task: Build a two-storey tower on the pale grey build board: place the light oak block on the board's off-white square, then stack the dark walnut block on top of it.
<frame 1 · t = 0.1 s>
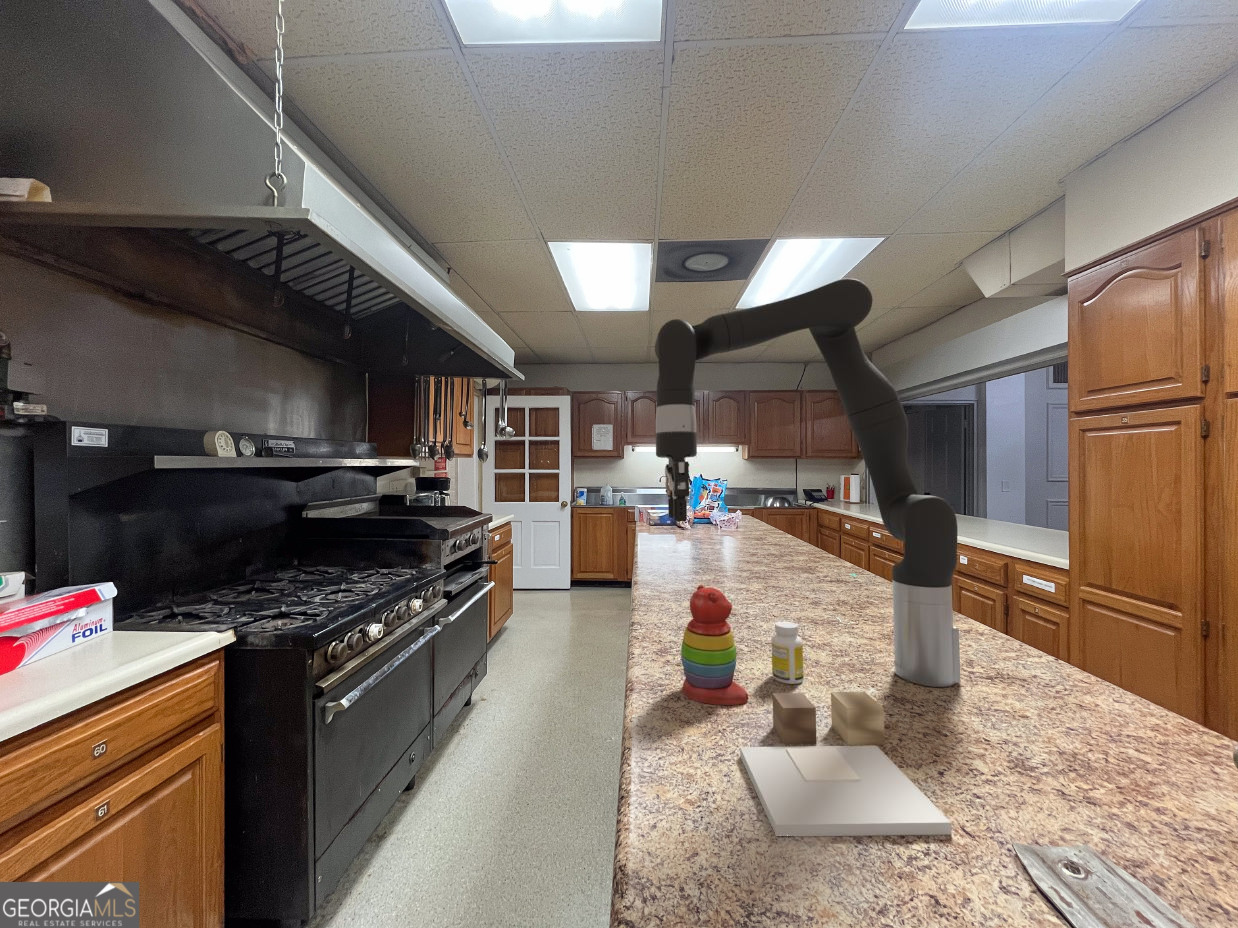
hand: (677, 519, 87), 29 cm above the countertop, tool pointing down, fingers open, 8 cm apart
oak block: (857, 735, 67), on the countertop
stacking bear: (711, 692, 81), on the countertop
build board: (832, 790, 55), on the countertop
supplement bottle: (787, 679, 86), on the countertop
walnut block: (794, 735, 67), on the countertop
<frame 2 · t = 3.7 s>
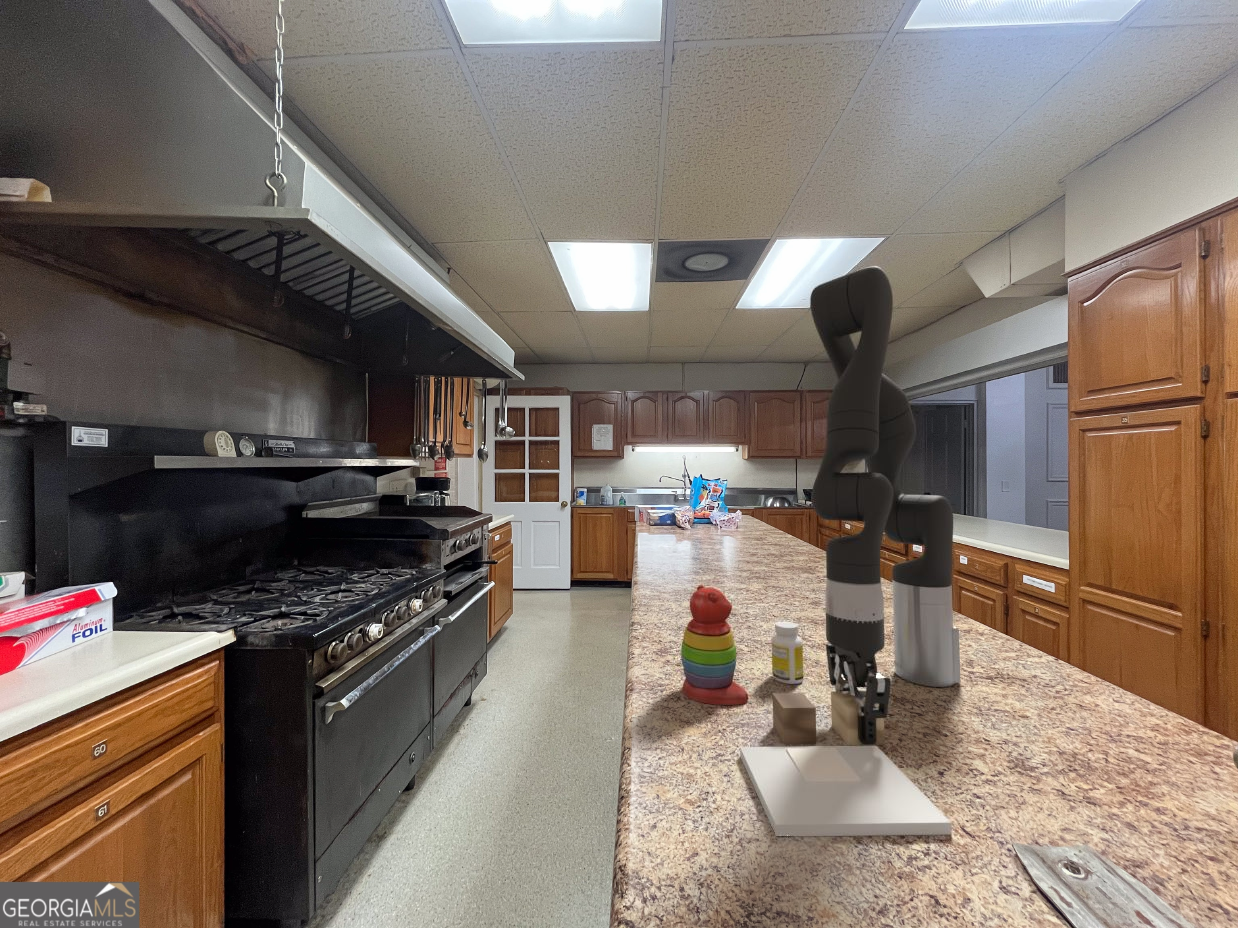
hand: (856, 730, 67), 0 cm above the countertop, tool pointing down, fingers closed on oak block, 5 cm apart
oak block: (857, 734, 67), on the countertop, touching gripper
everything else where it was.
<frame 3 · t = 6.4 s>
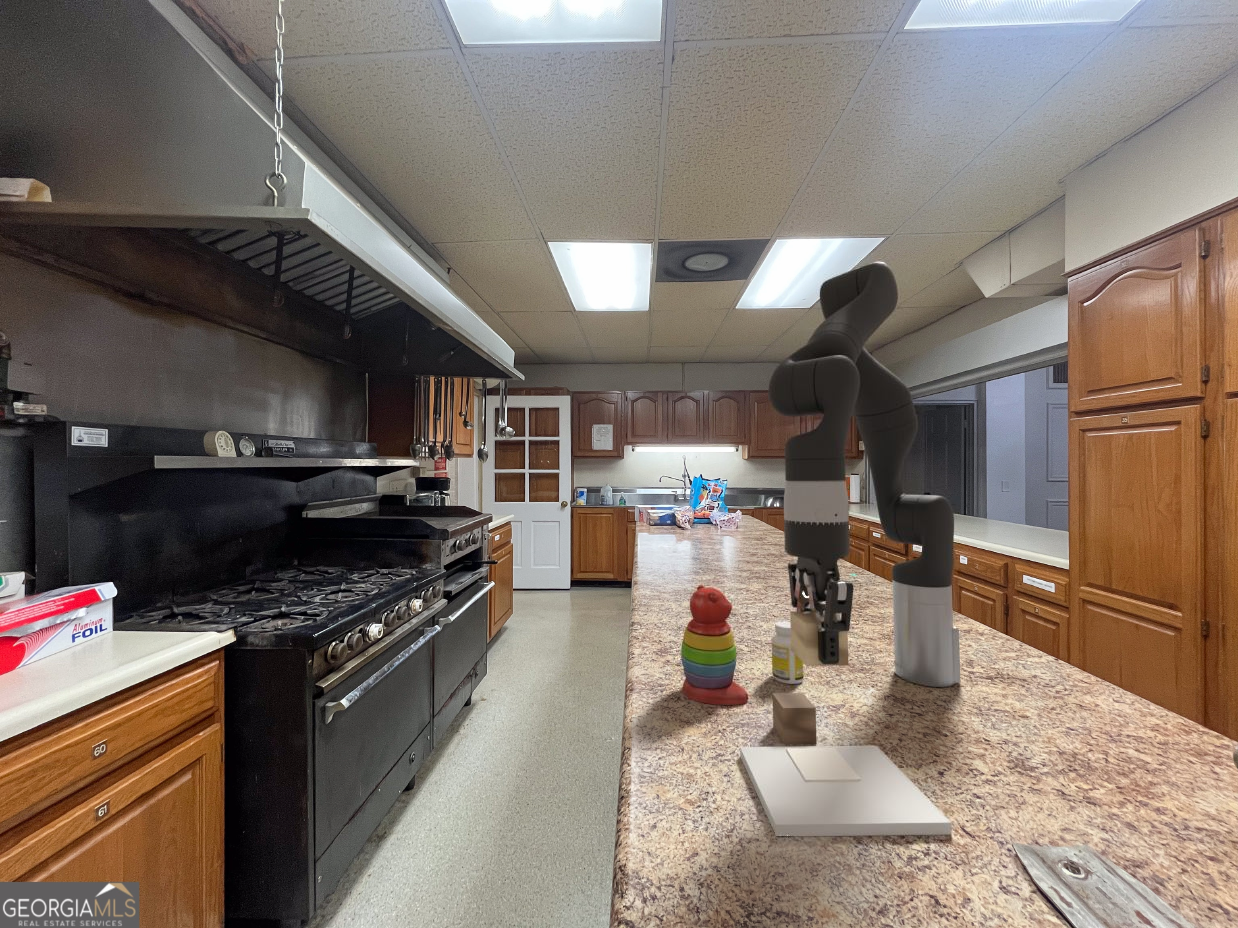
hand: (818, 653, 59), 15 cm above the countertop, tool pointing down, fingers closed on oak block, 5 cm apart
oak block: (818, 657, 59), point 14 cm above the countertop, touching gripper
everything else where it was.
when the fingers open (3 cm above the countertop, at t = 8.9 s): oak block stays where it is, resting on build board.
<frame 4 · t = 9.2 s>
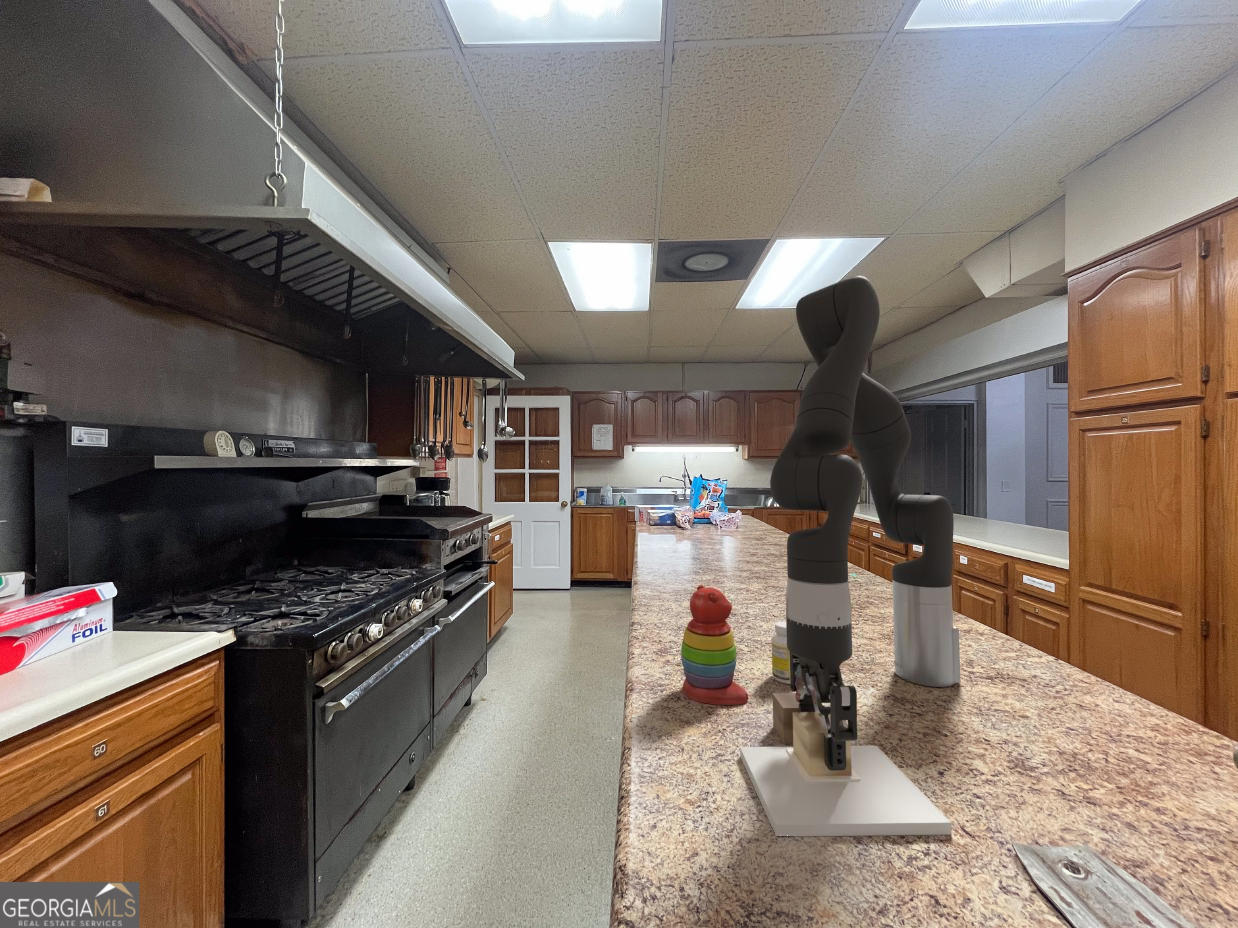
hand: (821, 749, 58), 3 cm above the countertop, tool pointing down, fingers open, 7 cm apart
oak block: (821, 763, 58), point 1 cm above the countertop, touching build board
everything else where it was.
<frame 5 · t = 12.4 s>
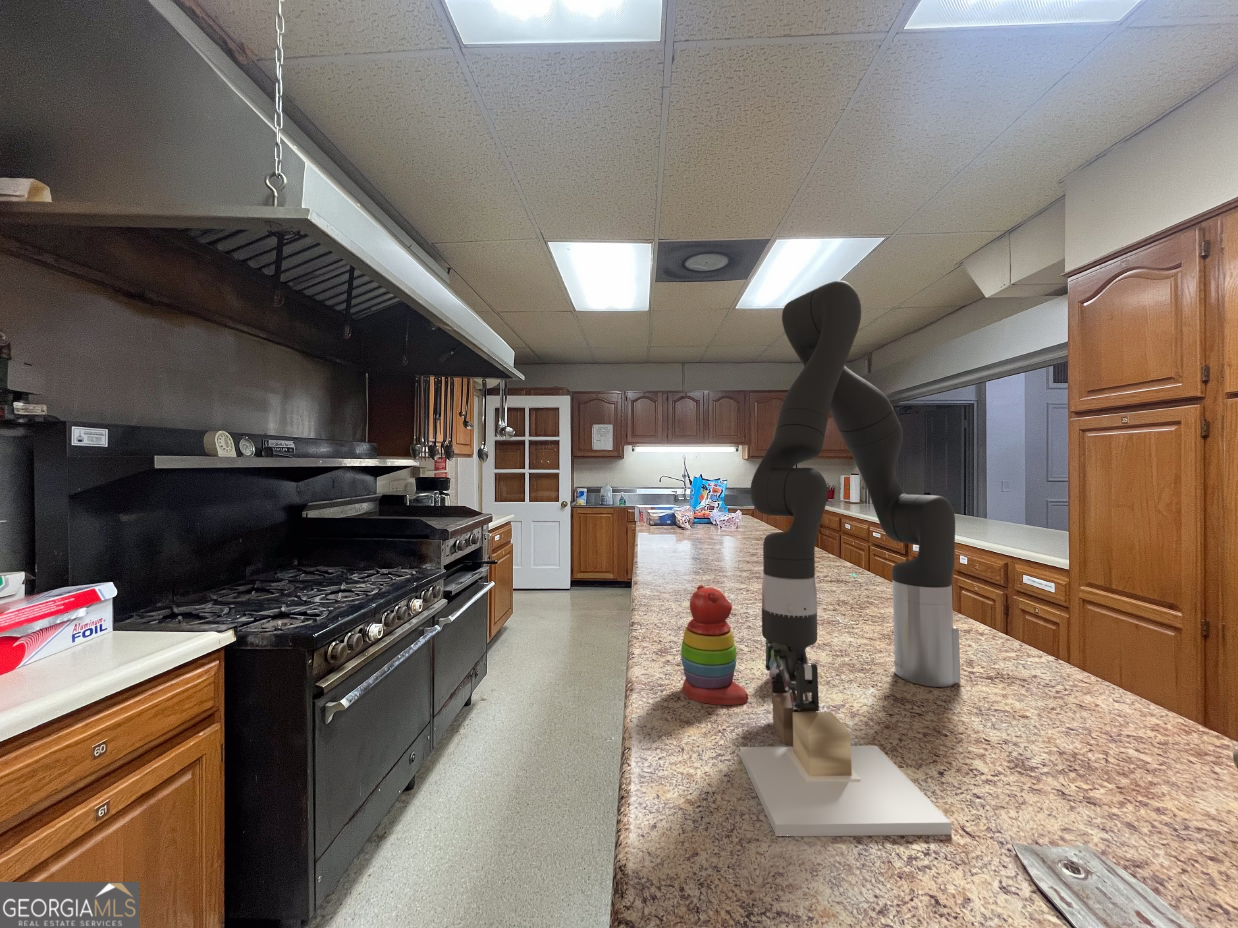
hand: (789, 720, 68), 2 cm above the countertop, tool pointing down, fingers open, 8 cm apart
oak block: (821, 763, 58), point 1 cm above the countertop, touching build board, gripper
everything else where it was.
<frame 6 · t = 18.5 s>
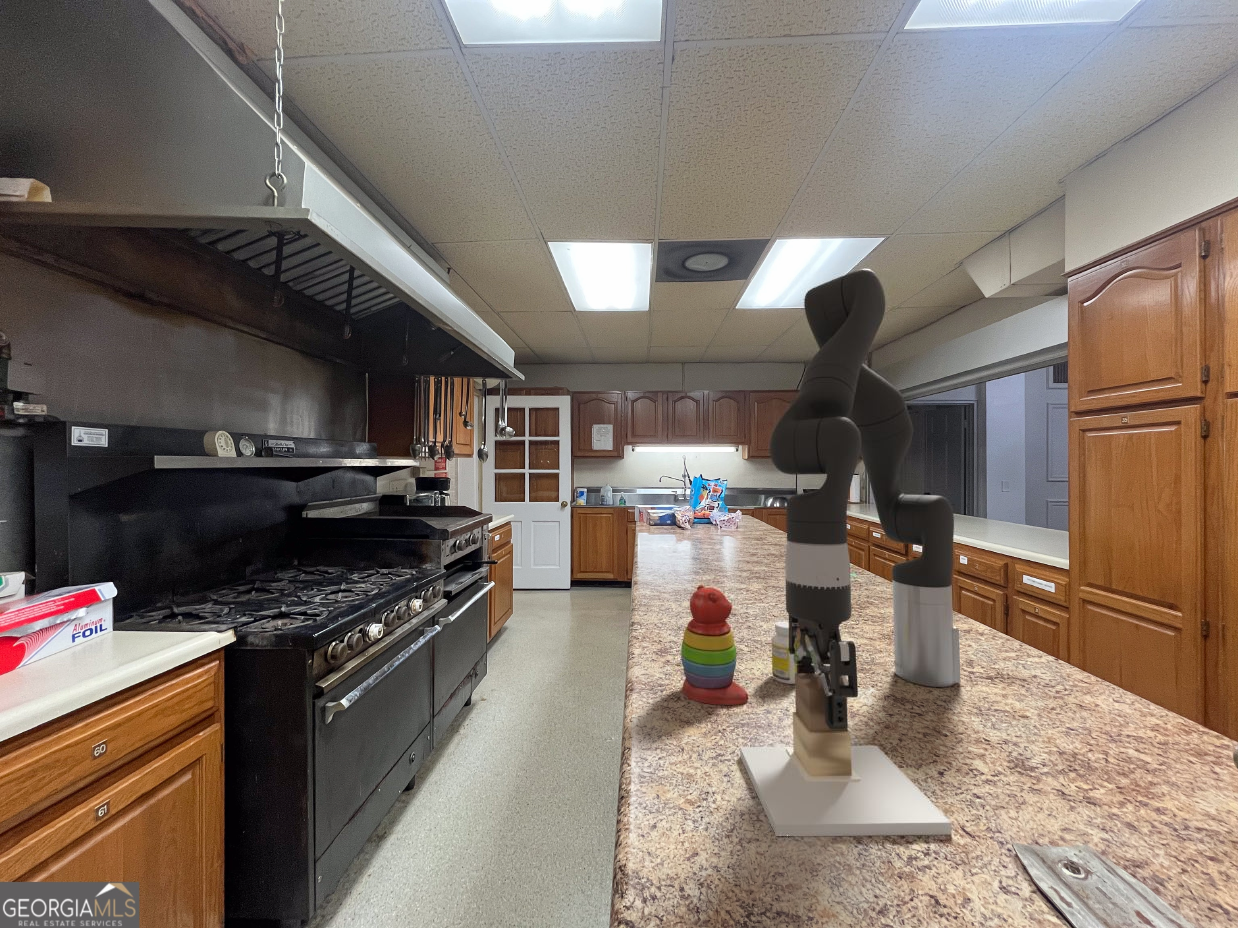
hand: (820, 709, 58), 8 cm above the countertop, tool pointing down, fingers open, 8 cm apart
oak block: (821, 763, 58), point 1 cm above the countertop, touching build board, walnut block
walnut block: (820, 721, 58), point 6 cm above the countertop, touching oak block
everything else where it was.
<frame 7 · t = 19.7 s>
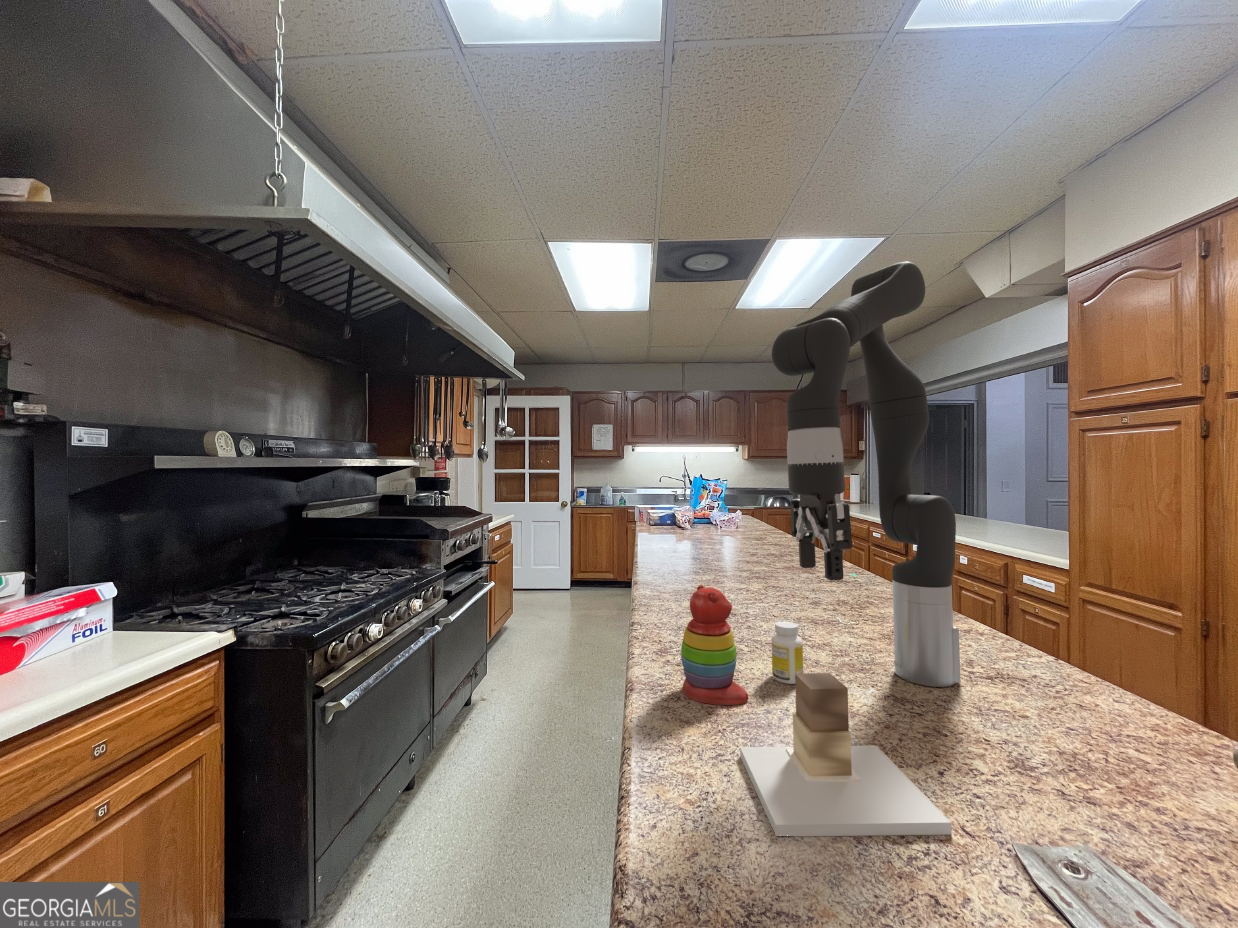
hand: (820, 573, 68), 23 cm above the countertop, tool pointing down, fingers open, 8 cm apart
nothing on the countertop moved.
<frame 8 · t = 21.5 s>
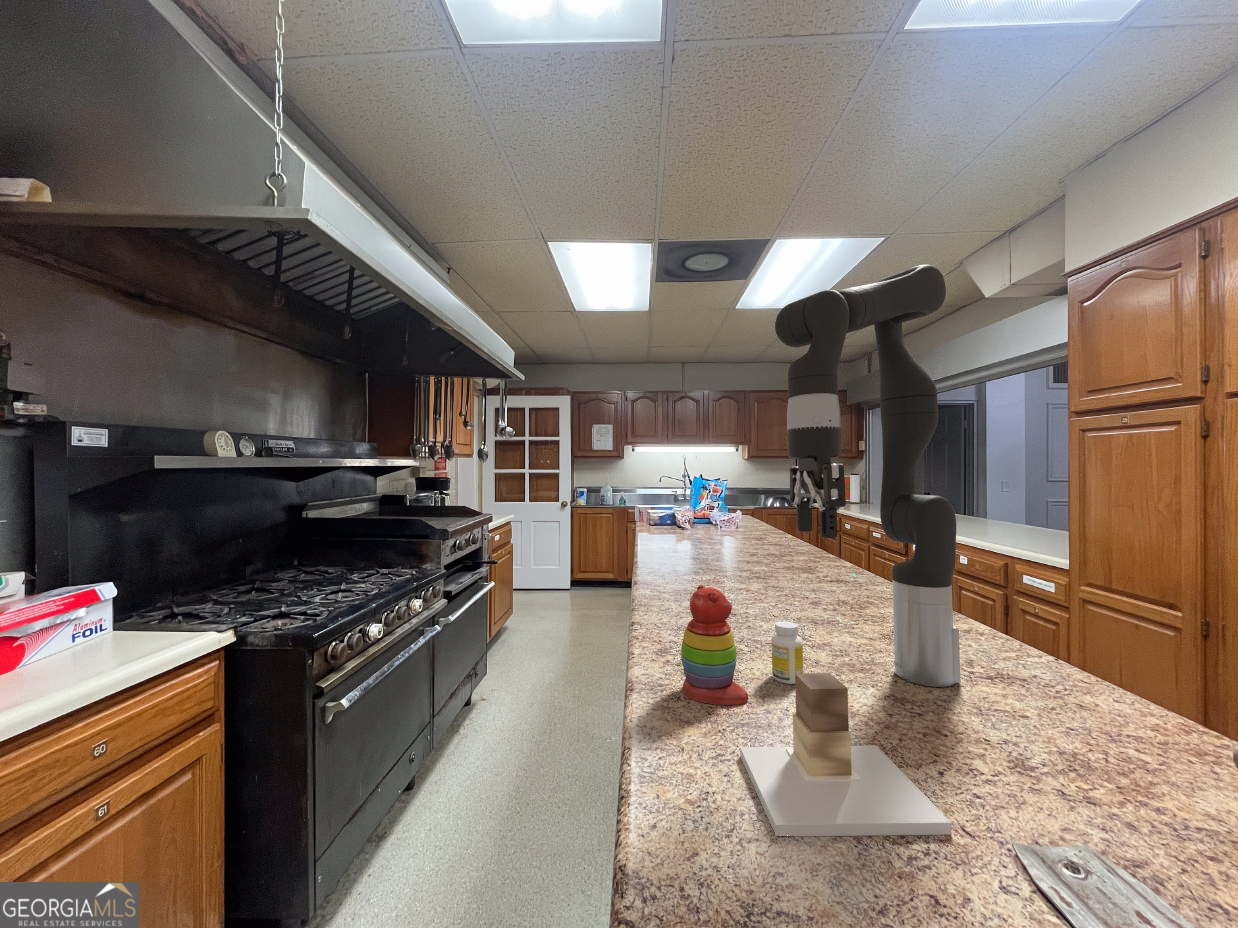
hand: (815, 534, 71), 28 cm above the countertop, tool pointing down, fingers open, 8 cm apart
nothing on the countertop moved.
at the end: oak block 0.1 cm from the target spot on the build board, point 1.4 cm above the build board's base; walnut block 0.1 cm off-centre on the oak block, point 5.0 cm above the oak block's base; walnut block tilted 0° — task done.
